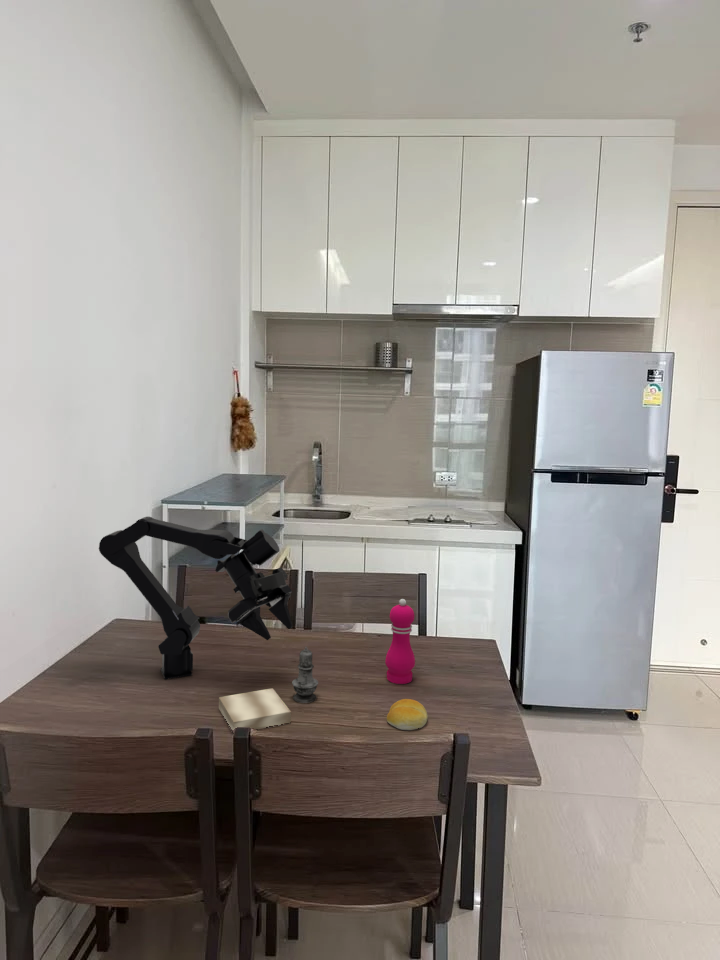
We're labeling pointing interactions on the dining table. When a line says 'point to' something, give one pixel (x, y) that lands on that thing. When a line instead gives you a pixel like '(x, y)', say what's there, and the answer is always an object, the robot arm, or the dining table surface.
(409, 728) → the bread roll
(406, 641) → the pepper mill
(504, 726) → the dining table surface
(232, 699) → the plate
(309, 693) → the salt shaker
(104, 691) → the dining table surface
